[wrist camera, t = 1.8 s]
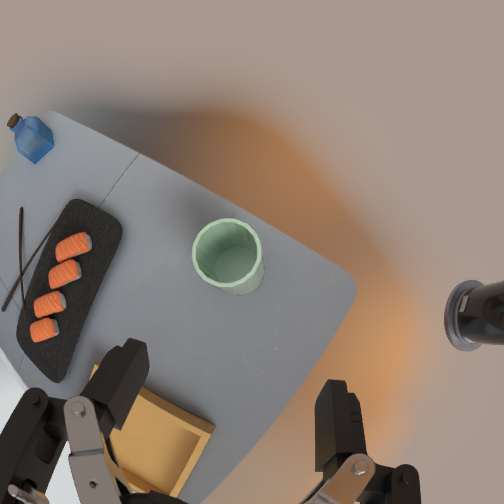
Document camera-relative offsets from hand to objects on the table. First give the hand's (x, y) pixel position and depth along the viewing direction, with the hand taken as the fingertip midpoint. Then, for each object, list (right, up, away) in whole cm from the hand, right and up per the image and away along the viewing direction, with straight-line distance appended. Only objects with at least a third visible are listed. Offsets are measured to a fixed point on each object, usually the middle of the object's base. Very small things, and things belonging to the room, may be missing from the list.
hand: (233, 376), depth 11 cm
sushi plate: (-36, +2, +27) cm, 45 cm away
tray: (-16, -22, +20) cm, 33 cm away
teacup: (-1, +3, +25) cm, 25 cm away
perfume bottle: (-46, +29, +34) cm, 64 cm away
